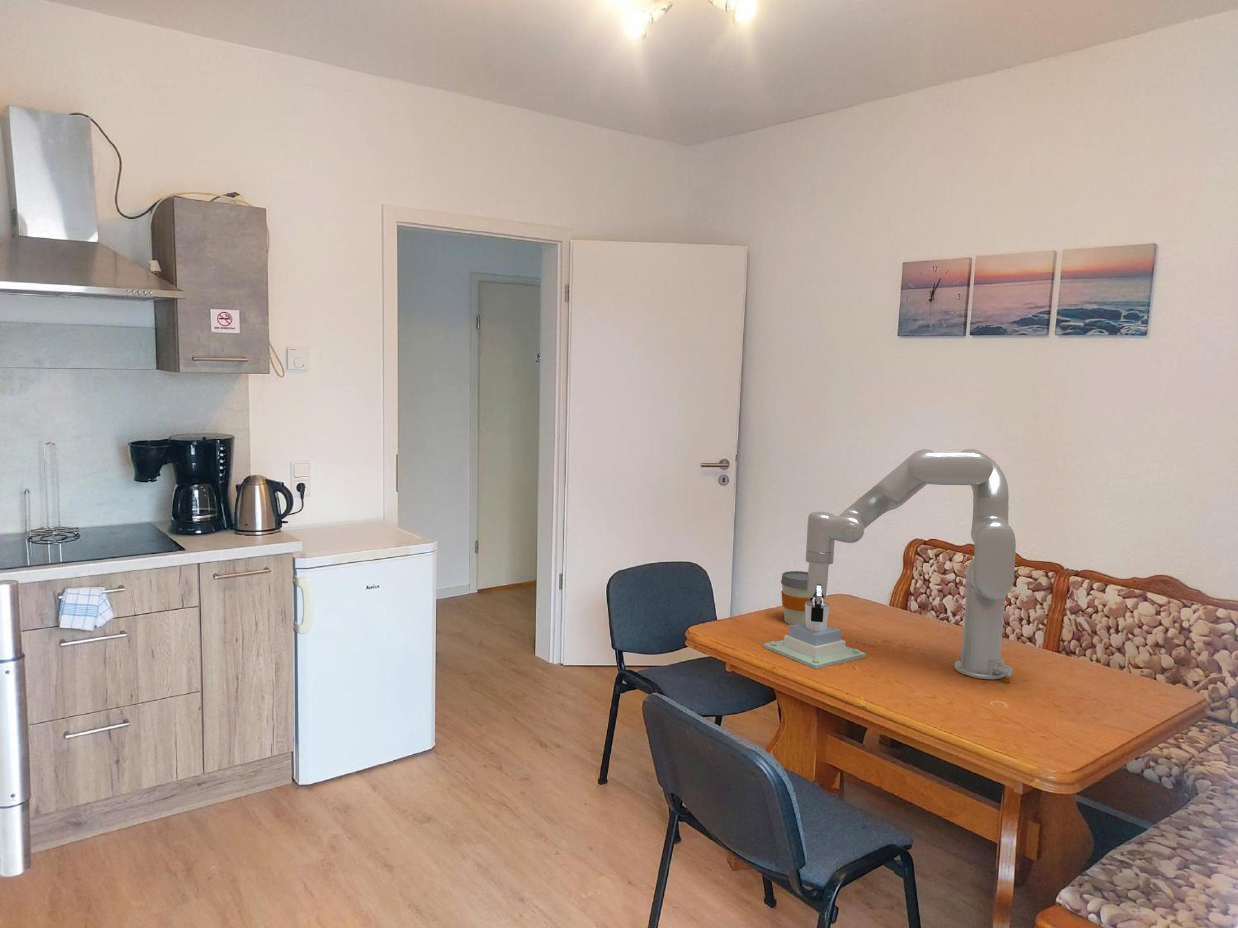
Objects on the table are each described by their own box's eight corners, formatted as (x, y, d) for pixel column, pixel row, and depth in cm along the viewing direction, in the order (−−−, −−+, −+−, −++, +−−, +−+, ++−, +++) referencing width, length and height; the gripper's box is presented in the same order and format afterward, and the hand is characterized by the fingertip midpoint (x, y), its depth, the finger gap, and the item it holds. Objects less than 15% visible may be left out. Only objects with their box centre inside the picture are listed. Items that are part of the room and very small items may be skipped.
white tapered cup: (810, 622, 238) (812, 598, 237) (832, 627, 234) (834, 603, 233) (799, 627, 233) (800, 603, 232) (821, 633, 228) (823, 608, 228)
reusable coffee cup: (775, 624, 260) (777, 577, 258) (783, 614, 271) (785, 569, 269) (815, 630, 255) (818, 582, 253) (822, 619, 266) (825, 573, 265)
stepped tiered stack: (865, 656, 231) (867, 632, 230) (815, 669, 220) (817, 643, 219) (812, 636, 248) (813, 614, 247) (763, 647, 237) (764, 623, 236)
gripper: (805, 549, 240) (801, 607, 242) (806, 562, 223) (803, 624, 225) (831, 551, 239) (828, 609, 241) (835, 564, 222) (831, 626, 224)
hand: (816, 616), depth 233 cm, fingers open, 9 cm apart
